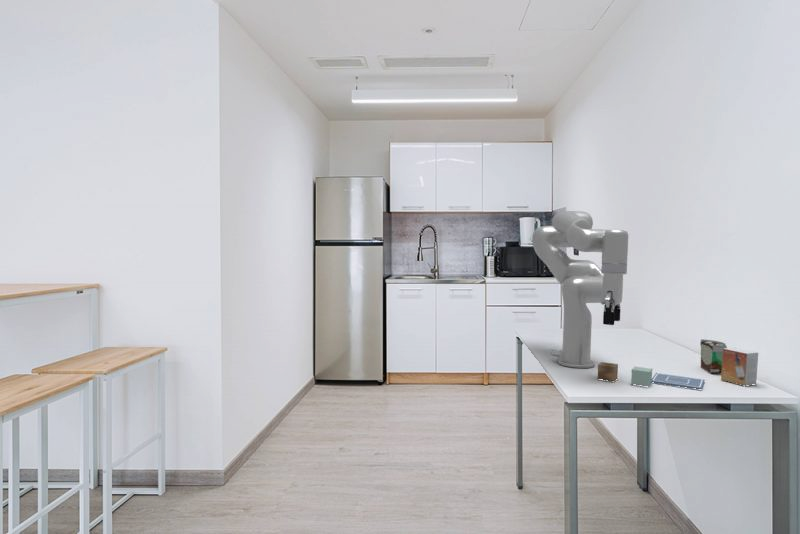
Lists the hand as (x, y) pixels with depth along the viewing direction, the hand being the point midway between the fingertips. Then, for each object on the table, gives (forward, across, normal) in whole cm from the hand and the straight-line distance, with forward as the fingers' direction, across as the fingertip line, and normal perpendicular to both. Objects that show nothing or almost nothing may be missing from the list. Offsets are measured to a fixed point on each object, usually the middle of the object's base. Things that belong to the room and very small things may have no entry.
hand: (611, 322), depth 168 cm
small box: (+19, -21, +35) cm, 45 cm away
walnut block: (+18, 0, 0) cm, 19 cm away
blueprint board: (+18, -9, +19) cm, 28 cm away
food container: (+19, -34, +28) cm, 48 cm away
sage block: (+18, +1, +10) cm, 21 cm away
